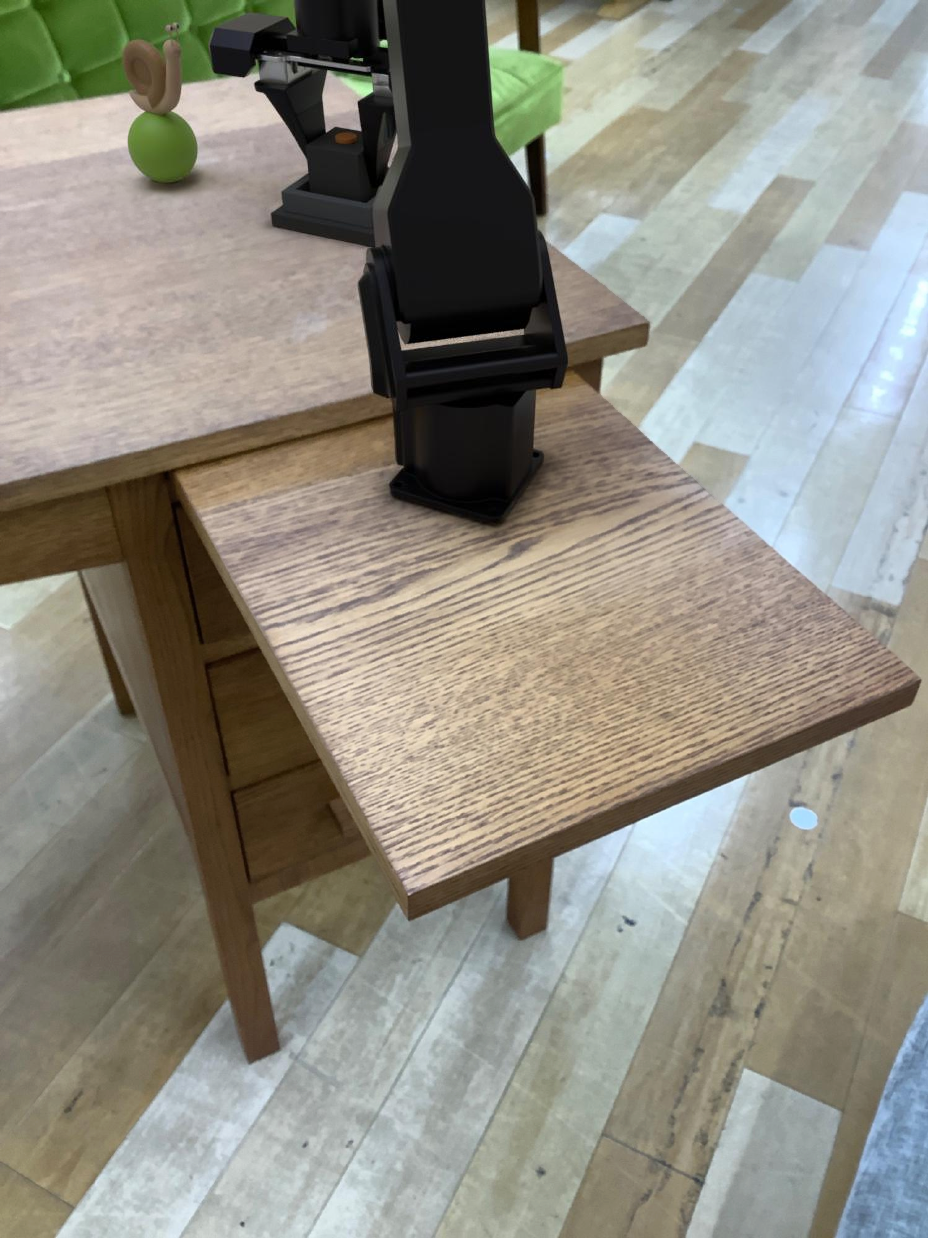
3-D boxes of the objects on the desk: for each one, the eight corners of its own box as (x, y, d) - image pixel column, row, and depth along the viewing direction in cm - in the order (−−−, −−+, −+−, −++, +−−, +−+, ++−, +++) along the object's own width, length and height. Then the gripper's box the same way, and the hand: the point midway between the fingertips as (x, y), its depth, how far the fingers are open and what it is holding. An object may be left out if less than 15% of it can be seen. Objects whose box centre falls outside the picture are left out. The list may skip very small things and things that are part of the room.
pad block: (389, 188, 80) (386, 130, 77) (361, 209, 77) (357, 150, 74) (339, 179, 82) (334, 121, 79) (310, 199, 79) (304, 140, 76)
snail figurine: (180, 200, 82) (148, 32, 74) (121, 184, 85) (84, 19, 76) (225, 178, 86) (199, 15, 77) (168, 162, 88) (136, 3, 80)
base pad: (430, 202, 82) (429, 169, 80) (376, 247, 76) (373, 213, 75) (331, 183, 85) (328, 151, 83) (272, 225, 79) (267, 192, 77)
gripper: (510, -72, 70) (504, 164, 81) (276, -94, 76) (300, 129, 87) (438, -36, 63) (442, 218, 74) (185, -64, 69) (224, 175, 80)
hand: (349, 181), depth 79 cm, fingers closed on pad block, 4 cm apart
